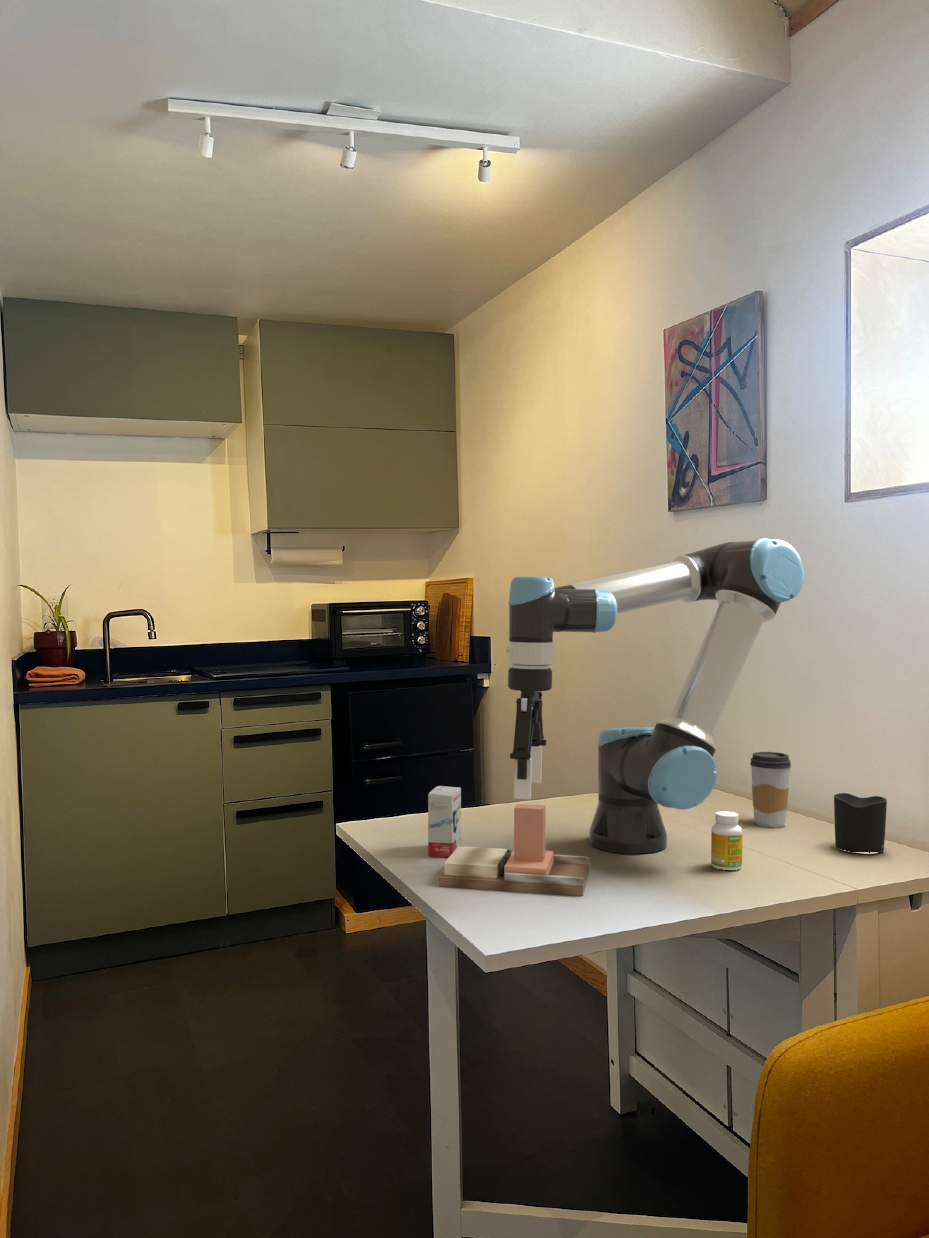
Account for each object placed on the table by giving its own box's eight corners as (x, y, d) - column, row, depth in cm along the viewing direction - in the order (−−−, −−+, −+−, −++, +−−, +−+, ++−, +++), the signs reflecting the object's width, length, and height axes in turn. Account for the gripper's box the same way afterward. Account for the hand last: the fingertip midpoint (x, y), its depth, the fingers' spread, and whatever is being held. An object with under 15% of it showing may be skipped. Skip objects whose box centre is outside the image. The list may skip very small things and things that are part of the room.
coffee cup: (794, 822, 201) (795, 753, 201) (785, 831, 194) (785, 759, 194) (755, 817, 205) (756, 750, 205) (744, 825, 198) (745, 755, 198)
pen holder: (859, 857, 174) (860, 804, 174) (822, 845, 183) (823, 794, 183) (897, 852, 178) (898, 800, 178) (859, 840, 186) (860, 791, 186)
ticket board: (589, 871, 165) (589, 850, 165) (582, 895, 152) (582, 873, 152) (457, 862, 170) (457, 842, 170) (439, 886, 157) (439, 864, 157)
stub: (553, 862, 165) (553, 800, 165) (546, 880, 154) (546, 814, 154) (514, 859, 167) (514, 798, 166) (504, 878, 156) (504, 812, 156)
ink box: (452, 858, 173) (452, 795, 173) (426, 856, 174) (427, 794, 174) (461, 846, 182) (462, 786, 181) (437, 844, 183) (437, 784, 182)
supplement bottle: (729, 873, 164) (729, 818, 164) (704, 866, 169) (705, 812, 169) (748, 867, 168) (748, 814, 167) (723, 861, 172) (724, 808, 172)
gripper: (519, 661, 173) (517, 775, 173) (495, 671, 148) (493, 804, 149) (559, 662, 171) (558, 777, 171) (542, 672, 147) (540, 806, 147)
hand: (528, 790), depth 160 cm, fingers open, 13 cm apart
